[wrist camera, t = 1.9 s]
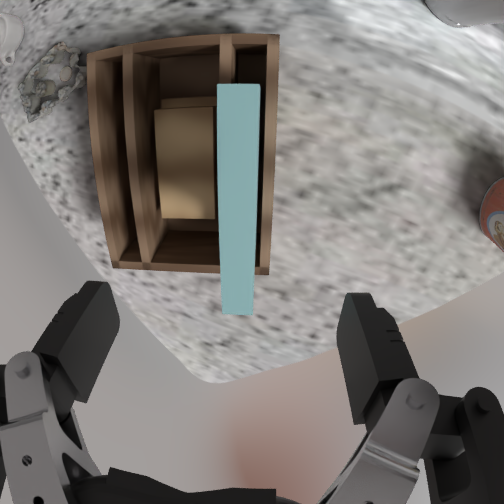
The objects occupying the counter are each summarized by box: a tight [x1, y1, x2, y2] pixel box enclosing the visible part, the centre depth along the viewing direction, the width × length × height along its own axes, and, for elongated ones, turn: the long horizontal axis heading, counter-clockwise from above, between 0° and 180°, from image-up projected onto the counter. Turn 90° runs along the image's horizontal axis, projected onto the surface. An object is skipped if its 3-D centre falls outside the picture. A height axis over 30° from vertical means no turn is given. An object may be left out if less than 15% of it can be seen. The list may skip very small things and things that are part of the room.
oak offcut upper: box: [154, 106, 218, 219], centre depth 31 cm, size 12×6×2 cm, turn 179°
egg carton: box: [18, 41, 87, 123], centre depth 28 cm, size 11×8×4 cm
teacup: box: [0, 13, 24, 66], centre depth 23 cm, size 10×8×5 cm
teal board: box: [217, 84, 261, 315], centre depth 25 cm, size 14×2×20 cm, turn 179°
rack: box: [87, 33, 280, 275], centre depth 31 cm, size 24×18×10 cm
